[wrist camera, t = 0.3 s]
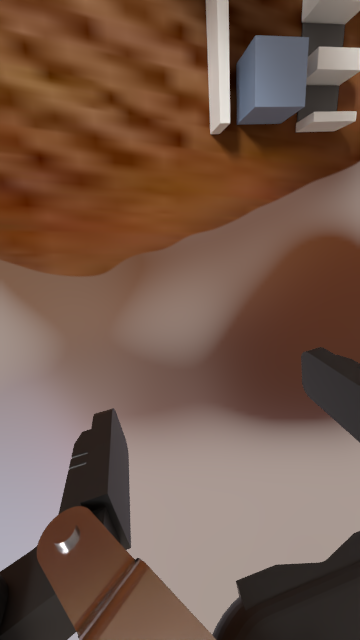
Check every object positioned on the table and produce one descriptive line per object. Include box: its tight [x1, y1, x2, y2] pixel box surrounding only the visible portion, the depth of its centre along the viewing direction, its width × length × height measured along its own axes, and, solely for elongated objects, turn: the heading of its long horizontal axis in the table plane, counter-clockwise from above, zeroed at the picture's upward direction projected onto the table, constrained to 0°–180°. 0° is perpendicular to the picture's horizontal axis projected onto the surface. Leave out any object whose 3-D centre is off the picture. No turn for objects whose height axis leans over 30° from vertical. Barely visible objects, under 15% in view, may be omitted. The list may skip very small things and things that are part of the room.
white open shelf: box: [206, 0, 360, 134], centre depth 29 cm, size 20×18×4 cm
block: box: [236, 35, 309, 125], centre depth 30 cm, size 6×6×5 cm
